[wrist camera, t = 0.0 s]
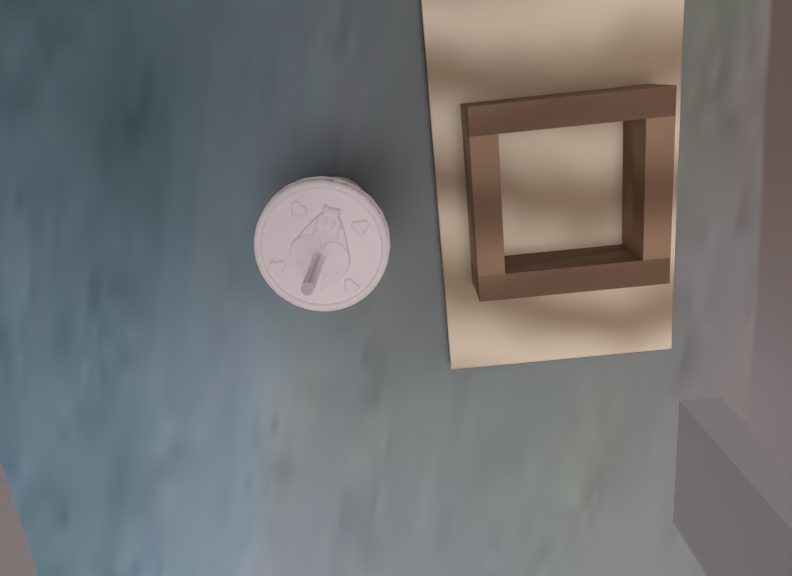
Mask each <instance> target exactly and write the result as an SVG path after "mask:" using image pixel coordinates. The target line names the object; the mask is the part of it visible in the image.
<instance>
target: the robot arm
mask: <svg viewBox="0 0 792 576" xmlns="http://www.w3.org/2000/svg"><path fill="white" fill-rule="evenodd" d="M673 522H674V524H675V525H676V527H677V529H678V530H679V532H680V533H681V535H682V537H683V538H684V540H685V541H686V543H687V545H688V546H689V548H690V549H691V551H692V553H693V554H694V556H695V557H696V559H697V561H698V562H699V564H700V565H701V567H702V569H703V570H704V572H705V573H706V575H707V576H792V469H791V468H790V467H789V466H788V465H787V464H786V463H785V462H784V461H783V460H782V459H781V458H780V457H779V456H778V455H777V454H776V453H775V452H774V451H773V450H772V449H771V448H770V447H769V446H768V445H767V444H766V443H765V442H764V441H763V440H762V439H761V438H760V437H759V436H758V435H757V434H756V433H755V432H754V431H753V430H752V429H751V428H750V427H749V426H748V425H747V424H746V423H745V422H744V421H743V420H742V419H741V418H740V417H739V416H738V415H737V414H736V413H735V412H734V411H733V410H732V409H731V408H730V407H729V406H728V405H727V404H726V403H725V402H724V401H723V400H722V399H721V398H708V399H697V400H685V401H679V417H678V437H677V456H676V476H675V495H674V515H673ZM37 574H38V573H37V570H36V567H35V564H34V561H33V558H32V555H31V552H30V549H29V546H28V543H27V540H26V537H25V534H24V531H23V528H22V525H21V522H20V519H19V516H18V513H17V510H16V507H15V504H14V501H13V498H12V495H11V492H10V489H9V486H8V483H7V480H6V477H5V474H4V471H3V468H2V465H1V462H0V576H36V575H37Z"/></svg>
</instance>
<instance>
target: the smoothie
mask: <svg viewBox="0 0 792 576" xmlns="http://www.w3.org/2000/svg"><path fill="white" fill-rule="evenodd" d="M390 246H391V243H390V235H389V227H388V225H387V222H386V220H385V217H384V215H383V212H382V210H381V209H380V208H379V207H378V205H377V204H376V203H375V201H374V200H373V199H372V197H371V196H369V195H368V194H367V193H366V192H364V191H363V190H362V188H361V187H360V186H359V185H358V184H357V183H355V182H354V181H352V180H350V179H348V178H345V177H339V176H335V177H326V176H317V177H309V178H303V179H300V180H298V181H296V182H293V183H291V184H288V185H287V186H285V187H284V188H283V189H281V190H280V191H279V192H277V193H276V194H275V195H274V196H273V197H272V198H271V200H270V201H269V202H268V204H267V205H266V206H265V208H264V209H263V212H262V214H261V216H260V218H259V220H258V223H257V226H256V230H255V235H254V252H255V257H256V262H257V264H258V267H259V270H260V272H261V274H262V276H263V277H264V279H265V280H266V282H267V283H268V285H269V286H270V287H271V288H272V289H273V290H274V291H275V292H276V293H277V294H278V295H279V296H281V297H282V298H283V299H285V300H287V301H288V302H290V303H292V304H294V305H296V306H299V307H301V308H305V309H309V310H314V311H333V310H339V309H343V308H346V307H349V306H351V305H353V304H355V303H357V302H359V301H360V300H362V299H363V298H365V297H366V296H367V295H368V294H369V293H370V292H371V291H372V290H373V289H374V288H375V287H376V285H377V284H378V283H379V281H380V279H381V278H382V276H383V274H384V271H385V269H386V266H387V263H388V259H389V252H390Z"/></svg>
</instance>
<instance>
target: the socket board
mask: <svg viewBox="0 0 792 576" xmlns="http://www.w3.org/2000/svg"><path fill="white" fill-rule="evenodd" d="M421 9H422V22H423V34H424V46H425V59H426V71H427V83H428V96H429V108H430V120H431V133H432V145H433V157H434V170H435V182H436V194H437V207H438V219H439V231H440V243H441V256H442V268H443V280H444V293H445V305H446V317H447V330H448V342H449V354H450V364H451V369H459V368H470V367H480V366H491V365H502V364H512V363H523V362H533V361H544V360H555V359H565V358H576V357H587V356H597V355H608V354H619V353H629V352H640V351H650V350H661V349H671V339H672V313H673V286H674V259H675V233H676V206H677V180H678V153H679V126H680V100H681V73H682V47H683V20H684V0H421Z"/></svg>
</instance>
